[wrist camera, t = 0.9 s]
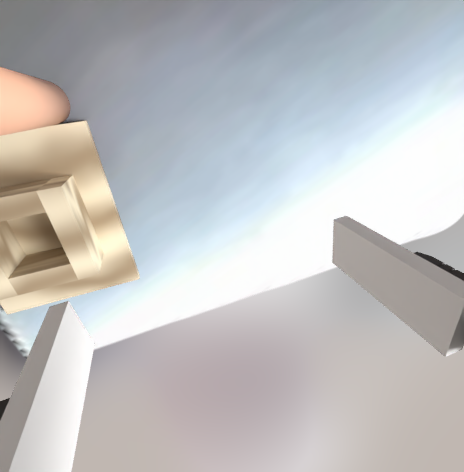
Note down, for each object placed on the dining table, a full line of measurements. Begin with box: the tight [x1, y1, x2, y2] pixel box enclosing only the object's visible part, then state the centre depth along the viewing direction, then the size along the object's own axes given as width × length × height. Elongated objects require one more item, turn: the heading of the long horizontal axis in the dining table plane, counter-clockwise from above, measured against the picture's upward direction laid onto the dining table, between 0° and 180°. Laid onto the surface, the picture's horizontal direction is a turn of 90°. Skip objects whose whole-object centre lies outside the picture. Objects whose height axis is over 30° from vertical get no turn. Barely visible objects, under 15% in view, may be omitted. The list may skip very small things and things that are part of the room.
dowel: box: [0, 67, 70, 136], centre depth 20 cm, size 4×4×16 cm
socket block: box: [0, 121, 139, 314], centre depth 29 cm, size 20×16×6 cm
